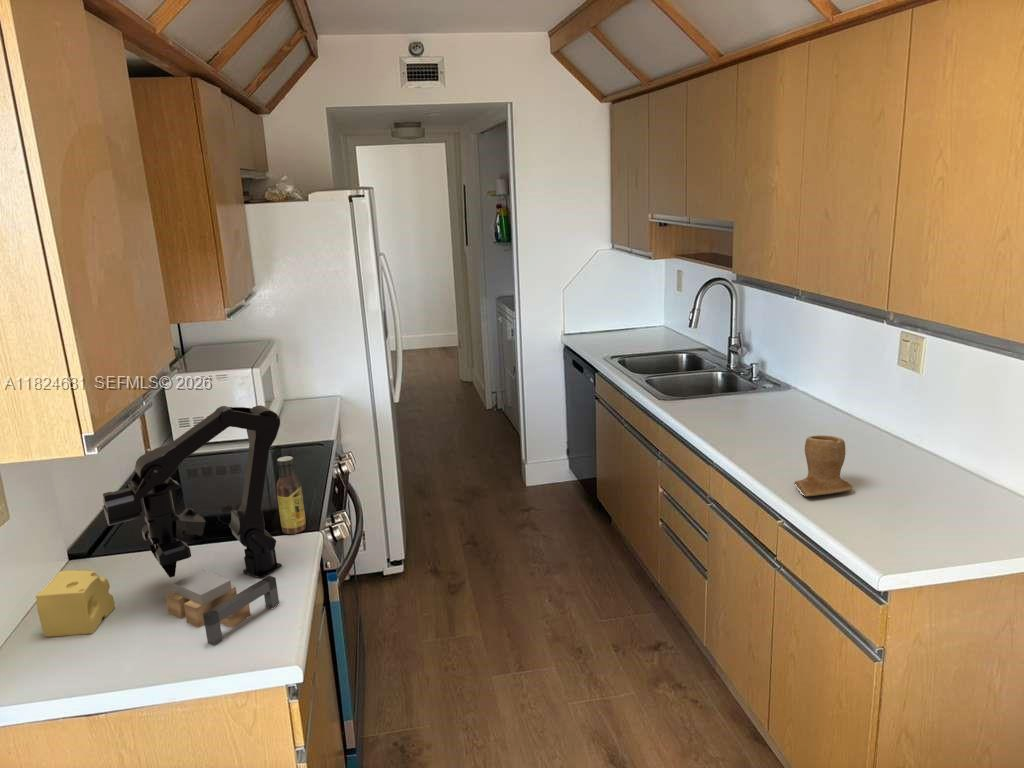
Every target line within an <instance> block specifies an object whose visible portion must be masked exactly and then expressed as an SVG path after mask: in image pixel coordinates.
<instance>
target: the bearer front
mask: <svg viewBox="0 0 1024 768" xmlns="http://www.w3.org/2000/svg"><path fill="white" fill-rule="evenodd" d="M231 589H232V591H230V592H228V593H226V594H224V595H222V596H220V597H218V598H217V599H215V600H213V601H211V602H209V603H207V604H205V605H200V604H198V603H196V602H194V601H191V600H190V601H188V602H186V603H184V608H185V614H186V617H185V618H186V623H187V624H189V625H191V626H194V627H196V628H200V629H201V628H202V627H203V626H205V623H204V618H203V614H204V613H206V612H208V611H209V610H211V609H213V608H214V607H216V606H218V605H220V604H221V603H223V602H225V601H226V600H228V599H230V598H231V597H233V596H235V595H237V594H238V593H237V587H236V586H235V585H232V584H231Z"/></svg>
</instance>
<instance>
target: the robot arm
mask: <svg viewBox="0 0 1024 768" xmlns="http://www.w3.org/2000/svg"><path fill="white" fill-rule="evenodd" d="M280 426H281V419H280V416H279V415H278V414H277V413H276V412H274V411H273V410H272V409H270V408H268V407H266V406H265V405H256V406H253V407H244V406H243V407H242V406H234V407H233V406H227V405H221V406H218V407H217V408H216V409H215V411H213V412H212V413H210V414H209V415H208V416H206V417H205V418H203V419H202V420H201V421H199V422H198V423H197V424H195V425H194V426H193V427H191V428H189V429H188V430H187V431H186V432H184V433H183V434H182V435H180V436H178V437H177V438H176V439H174V440H173V441H171V442H169V443H168V444H166V445H163V446H160V447H157V448H154V449H152V450H150V451H148V452H146V453H144V454H143V455H141V456H139V457H138V458H137V460H136V461H135V465H134V469H135V471H134V473H133V474H132V476H131V479H130V480H129V481H128V483H127V486H128V488H124V489H119V490H115V491H108V492H103V494H102V497H103V499H102V501H103V505H102V507H103V512H104V517H105V520H106V523H107V525H108V526H109V527H110V526H113V525H117V524H121V523H125V522H129V521H132V520H135V519H138V518H139V517H141V513H142V512H143V508H144V513H145V515H144V521H145V522H146V524H144V525H143V527H142V528H141V534H142V538H143V540H144V541H146V542H147V541H149V540H150V542H151V544H152V545H150V546H148V547H149V550H150V551H151V554H152V555H153V556H154V558H155V559H156V561H157V562H158V564H159V565H160V566H161V567H162V569H163V570H164V572H165V573H166V574H167V576H168V577H169V578H174V577H175V576H176V569H177V563H178V562H180V561H184V560H186V559H189V558H191V557H192V552H191V548H190V546H189V544H188V543H187V542H186V541H183V540H180V539H182V538H184V535H195V536H203V535H204V531H205V526H206V522H207V521H206V520H205V519H204V517H203V516H201V515H199V513H198V514H196V513H195V510H194V509H193V508H191V507H190V508H187V507H185V509H184V510H183V511H182V512H181V513H179V514H177V513H176V509H175V506H174V505H175V504H174V500H173V496H172V495H173V494H172V491H174V490H178V489H181V485H180V483H178V481H177V480H174V479H172V478H171V476H172V475H173V474H174V473H175V472H176V471H177V469H178V468H179V466H181V464H182V463H183V461H184V460H186V459H187V458H188V457H190V456H191V455H192V454H193V453H195V452H197V450H199V449H201V448H202V447H203V446H205V445H206V444H207V443H209V442H210V441H211V440H213V439H214V438H216V437H217V436H218V435H220V434H221V433H222V432H223V431H225V430H227V429H228V428H237V429H242V430H243V429H244V430H246V433H247V439H248V445H249V446H248V451H247V453H248V454H247V461H246V469H245V475H244V483H243V491H242V499H241V503H240V506H239V507H238V509H237V510H234V509H232V510H231V511H230V515H231V516H230V517H231V518H230V522H229V524H228V527H229V528H230V530H231V533H232V535H233V536H234V538H235V539H237V541H238V542H240V544H241V545H242V546H243V547H245V548H244V549H243V550H244V557H243V561H244V565H245V568H244V569H243V570H242V572H243V573H244V574H246V575H250V576H253V577H257V578H260V579H263V578H265V577H267V576H269V574H271V573H273V572H275V571H276V570H279V569H280V568H281V567H282V566H283V565H282V563H279V562H278V561H277V555H276V553H277V552H276V545H277V540H276V539H275V537H273V536H272V534H270V533H269V532H268V530H266V529H265V526H266V525H265V519H264V513H263V499H264V492H265V484H266V477H267V470H268V463H269V458H270V457H269V456H270V450H271V447H272V445H273V443H274V442H275V441H276V438H277V436H278V433H279V429H280ZM141 499H142V502H143V506H142V502H141Z"/></svg>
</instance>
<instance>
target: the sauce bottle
mask: <svg viewBox="0 0 1024 768" xmlns="http://www.w3.org/2000/svg"><path fill="white" fill-rule="evenodd" d="M276 462H277V465H278V472H279V474H278V475H279V477H278V479H277V482H276V491H277V492H276V493H277V495H276V497H277V503H278V504H277V505H278V512H279V517H280V518H279V519H280V520H279V521H280V526H281V530H282V532H283V533H284V534H286V535H295V534H299V533H301V532H303V531H305V530H306V526H307V525H306V524H307V523H306V513H305V506H304V497H303V490H302V488H303V487H302V484H301V483H300V481H299V479H298V476H297V474H296V471H295V467H294V457H292V456H289V455H287V456H281V457H278V458H277V459H276Z"/></svg>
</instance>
